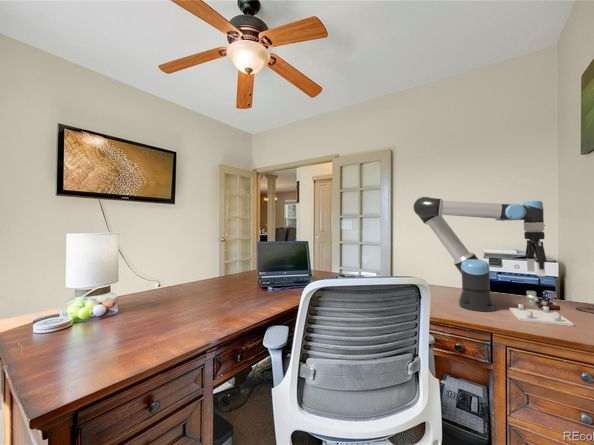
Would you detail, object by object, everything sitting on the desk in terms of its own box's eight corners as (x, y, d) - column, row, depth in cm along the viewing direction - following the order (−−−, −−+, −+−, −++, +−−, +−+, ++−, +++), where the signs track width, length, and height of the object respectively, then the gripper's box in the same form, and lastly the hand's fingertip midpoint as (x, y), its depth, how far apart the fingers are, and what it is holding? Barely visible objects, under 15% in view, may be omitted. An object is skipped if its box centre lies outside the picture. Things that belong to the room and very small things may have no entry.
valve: (521, 302, 138) (537, 309, 126) (521, 290, 138) (536, 296, 126) (536, 303, 136) (553, 310, 125) (536, 290, 136) (552, 296, 125)
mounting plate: (519, 320, 113) (519, 312, 113) (509, 309, 127) (509, 302, 127) (573, 326, 105) (573, 317, 105) (556, 314, 119) (555, 306, 119)
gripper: (554, 231, 119) (556, 278, 118) (534, 230, 141) (536, 270, 141) (533, 232, 122) (535, 277, 122) (517, 231, 144) (518, 269, 144)
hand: (535, 273), depth 131 cm, fingers open, 13 cm apart
